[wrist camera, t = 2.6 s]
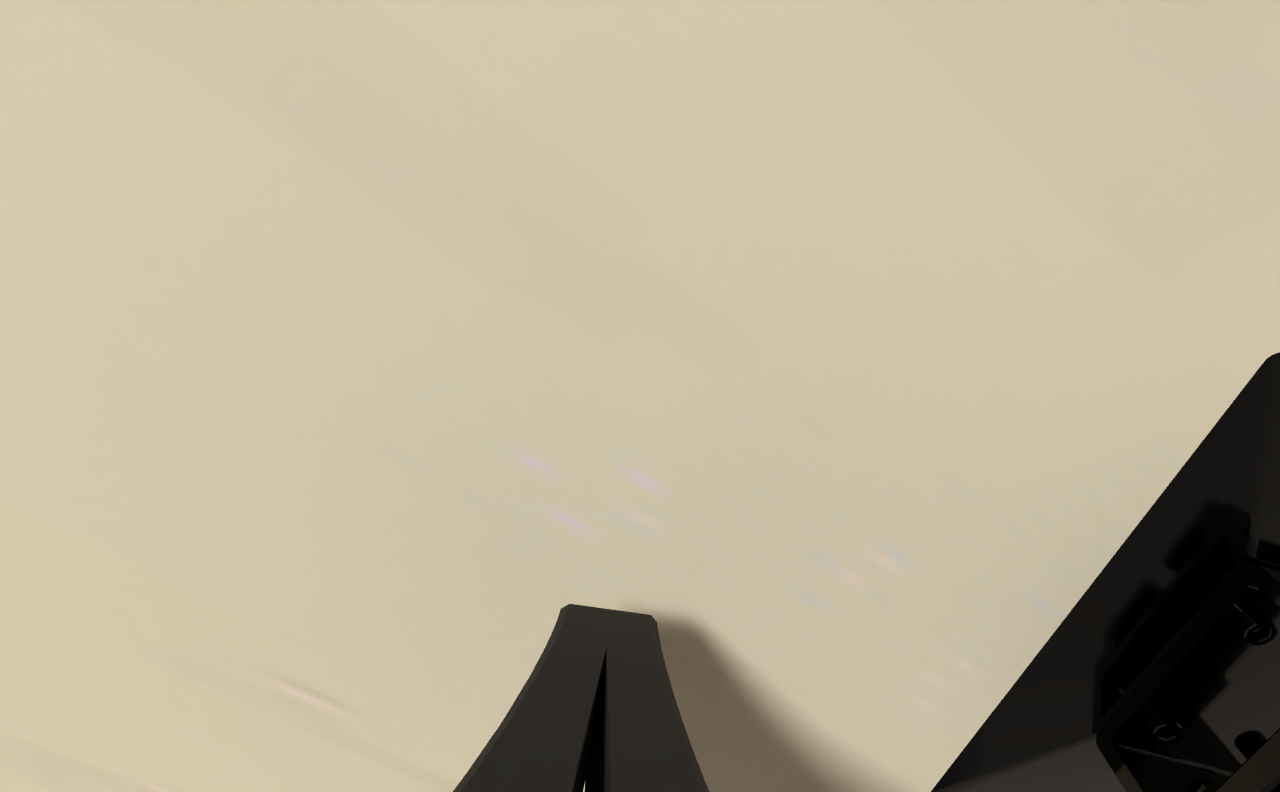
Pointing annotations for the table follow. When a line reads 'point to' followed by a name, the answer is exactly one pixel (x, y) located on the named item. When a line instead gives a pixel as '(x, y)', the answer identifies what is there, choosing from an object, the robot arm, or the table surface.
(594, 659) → the robot arm
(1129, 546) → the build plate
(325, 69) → the table surface
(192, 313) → the table surface
